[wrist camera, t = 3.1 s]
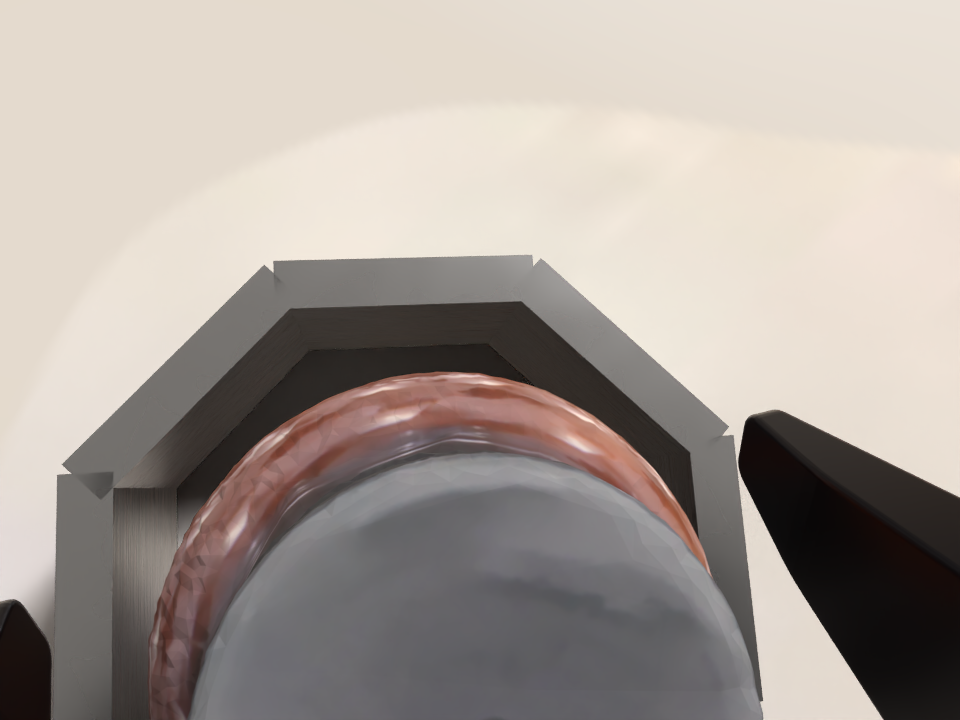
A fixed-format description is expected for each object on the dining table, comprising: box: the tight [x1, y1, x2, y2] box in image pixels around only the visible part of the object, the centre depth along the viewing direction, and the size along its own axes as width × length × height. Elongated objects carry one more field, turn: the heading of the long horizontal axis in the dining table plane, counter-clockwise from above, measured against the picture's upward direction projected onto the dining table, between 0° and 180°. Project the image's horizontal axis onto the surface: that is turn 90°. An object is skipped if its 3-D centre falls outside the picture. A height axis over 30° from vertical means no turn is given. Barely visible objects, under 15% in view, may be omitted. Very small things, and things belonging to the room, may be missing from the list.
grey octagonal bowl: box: [53, 255, 763, 720], centre depth 14 cm, size 11×11×4 cm
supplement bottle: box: [147, 371, 763, 720], centre depth 11 cm, size 6×6×11 cm
